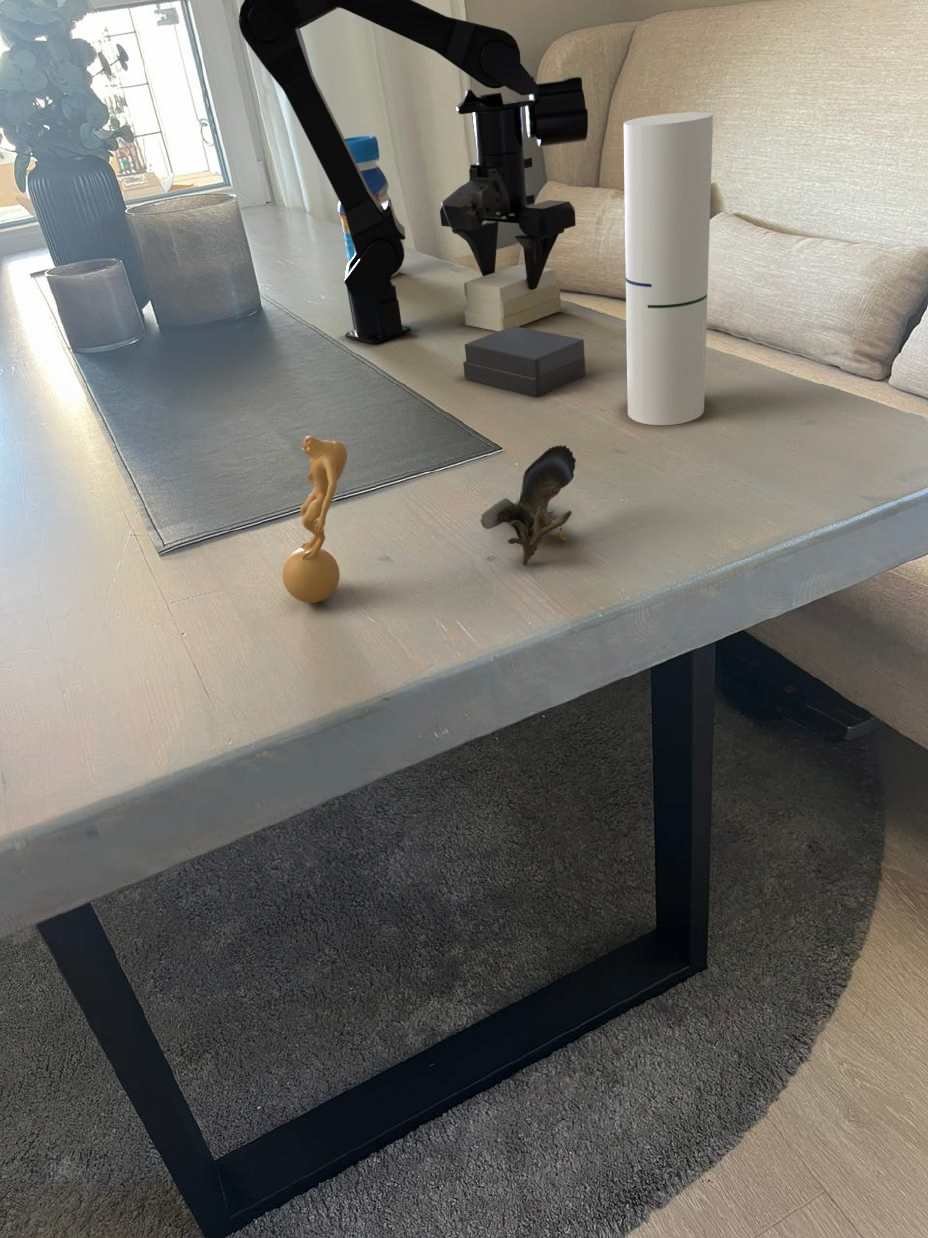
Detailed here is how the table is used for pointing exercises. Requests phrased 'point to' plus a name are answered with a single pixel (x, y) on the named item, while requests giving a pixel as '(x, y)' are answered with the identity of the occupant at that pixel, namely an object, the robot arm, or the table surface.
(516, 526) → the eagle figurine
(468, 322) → the white books
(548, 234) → the robot arm
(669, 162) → the cylindrical container
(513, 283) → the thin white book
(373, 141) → the beverage bottle
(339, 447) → the figurine
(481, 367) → the grey books
